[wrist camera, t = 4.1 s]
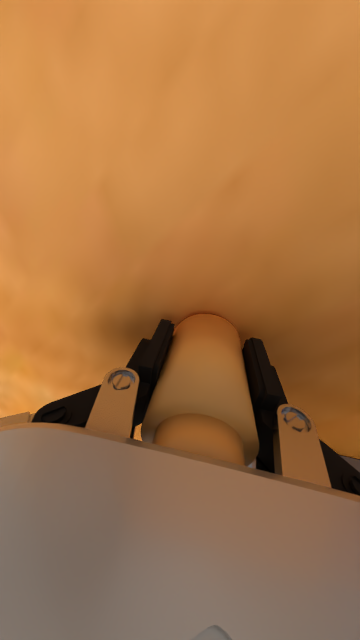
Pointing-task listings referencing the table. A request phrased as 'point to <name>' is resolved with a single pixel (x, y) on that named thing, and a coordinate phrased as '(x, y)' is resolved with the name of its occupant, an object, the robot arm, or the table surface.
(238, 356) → the tan wooden peg
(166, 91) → the table surface
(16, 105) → the table surface
